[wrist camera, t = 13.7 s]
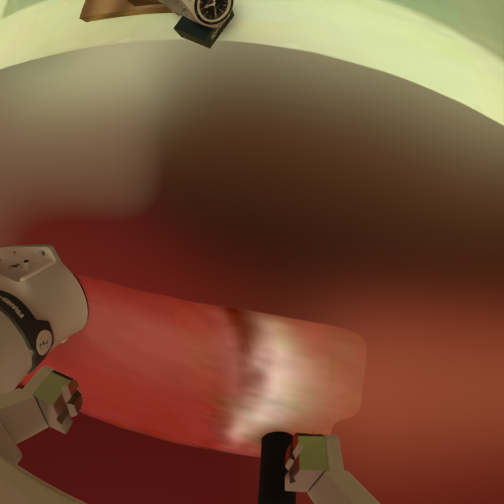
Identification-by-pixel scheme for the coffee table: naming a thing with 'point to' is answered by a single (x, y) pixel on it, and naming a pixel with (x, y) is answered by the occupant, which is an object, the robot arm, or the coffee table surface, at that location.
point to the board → (117, 9)
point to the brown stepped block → (144, 2)
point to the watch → (201, 18)
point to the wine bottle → (274, 470)
